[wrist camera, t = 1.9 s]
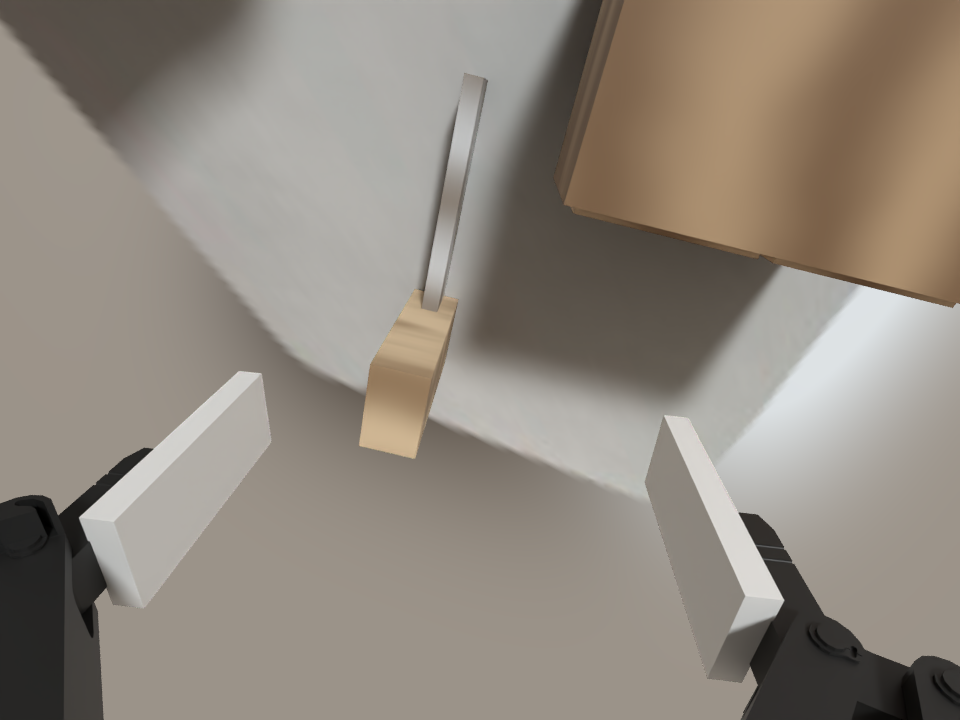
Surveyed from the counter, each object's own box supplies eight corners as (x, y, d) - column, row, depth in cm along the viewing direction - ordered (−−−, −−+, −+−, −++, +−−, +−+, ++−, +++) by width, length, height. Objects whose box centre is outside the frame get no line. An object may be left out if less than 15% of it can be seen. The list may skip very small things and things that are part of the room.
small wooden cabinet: (546, 171, 30) (561, 213, 18) (619, -94, 24) (706, -280, 12) (804, 235, 30) (977, 316, 19) (933, -10, 24) (1299, -112, 13)
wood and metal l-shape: (444, 362, 36) (414, 458, 26) (403, 353, 36) (358, 445, 26) (505, 84, 28) (494, 74, 18) (452, 71, 28) (413, 53, 18)
